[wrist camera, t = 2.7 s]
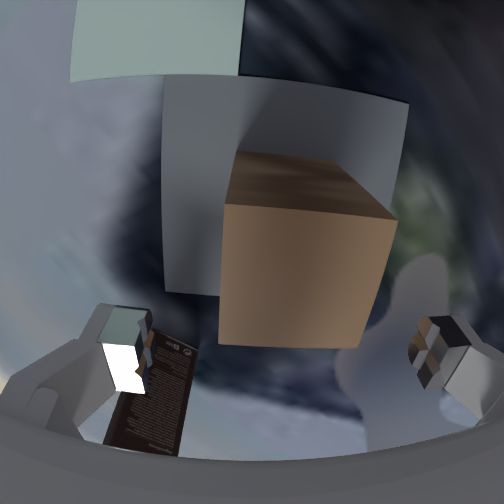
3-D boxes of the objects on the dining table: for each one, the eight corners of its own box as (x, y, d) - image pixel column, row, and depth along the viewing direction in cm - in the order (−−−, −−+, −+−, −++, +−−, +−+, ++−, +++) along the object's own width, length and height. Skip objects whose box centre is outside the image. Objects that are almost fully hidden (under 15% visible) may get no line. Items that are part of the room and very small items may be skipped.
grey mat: (408, 104, 16) (409, 104, 16) (362, 302, 22) (363, 303, 22) (165, 74, 15) (164, 74, 15) (165, 290, 22) (165, 291, 22)
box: (147, 324, 23) (102, 464, 13) (200, 348, 24) (180, 491, 14) (125, 366, 26) (87, 485, 15) (171, 386, 27) (148, 507, 16)
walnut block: (333, 160, 18) (398, 220, 10) (318, 246, 20) (356, 347, 12) (236, 150, 17) (224, 204, 9) (230, 240, 20) (218, 343, 12)
